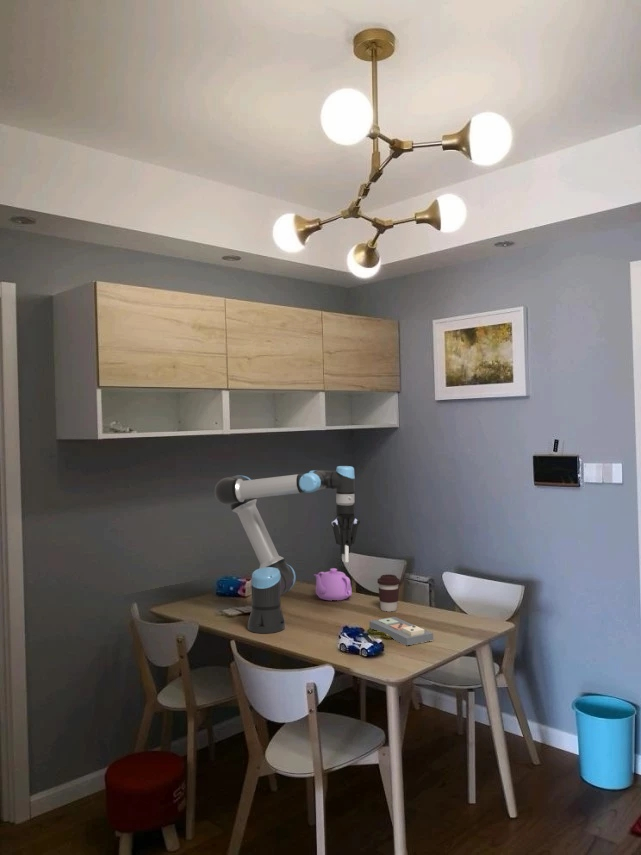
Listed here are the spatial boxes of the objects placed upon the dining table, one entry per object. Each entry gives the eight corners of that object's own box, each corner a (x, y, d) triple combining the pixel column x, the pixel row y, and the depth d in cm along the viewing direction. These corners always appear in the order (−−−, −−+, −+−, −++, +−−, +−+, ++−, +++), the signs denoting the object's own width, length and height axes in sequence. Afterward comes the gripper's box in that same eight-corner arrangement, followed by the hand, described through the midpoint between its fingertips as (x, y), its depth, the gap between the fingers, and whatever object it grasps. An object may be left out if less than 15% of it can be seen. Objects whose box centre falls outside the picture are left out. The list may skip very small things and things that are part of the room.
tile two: (411, 639, 255) (411, 631, 255) (402, 635, 260) (402, 627, 260) (424, 637, 257) (424, 628, 257) (414, 633, 263) (414, 624, 263)
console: (407, 646, 252) (406, 638, 252) (369, 628, 275) (369, 620, 275) (433, 641, 257) (433, 633, 257) (394, 623, 280) (394, 616, 280)
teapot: (297, 599, 322) (297, 569, 322) (329, 590, 338) (329, 562, 338) (331, 607, 307) (331, 576, 307) (363, 598, 323) (362, 569, 322)
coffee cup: (404, 611, 300) (404, 576, 300) (385, 614, 295) (384, 579, 295) (392, 605, 309) (392, 572, 308) (373, 608, 304) (373, 574, 304)
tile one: (386, 631, 270) (386, 623, 270) (377, 627, 275) (377, 619, 275) (398, 629, 272) (398, 620, 272) (390, 625, 278) (390, 617, 278)
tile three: (398, 637, 262) (398, 628, 262) (389, 633, 267) (389, 624, 267) (411, 634, 265) (411, 626, 265) (402, 630, 270) (402, 622, 270)
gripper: (335, 505, 273) (335, 564, 273) (363, 504, 279) (363, 561, 279) (327, 503, 280) (327, 561, 280) (354, 502, 286) (354, 558, 286)
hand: (345, 561), depth 280 cm, fingers closed
